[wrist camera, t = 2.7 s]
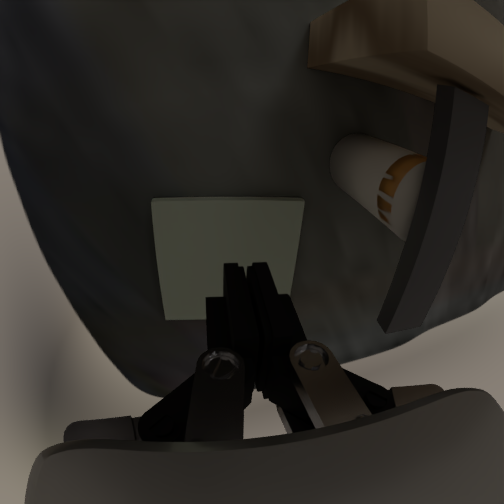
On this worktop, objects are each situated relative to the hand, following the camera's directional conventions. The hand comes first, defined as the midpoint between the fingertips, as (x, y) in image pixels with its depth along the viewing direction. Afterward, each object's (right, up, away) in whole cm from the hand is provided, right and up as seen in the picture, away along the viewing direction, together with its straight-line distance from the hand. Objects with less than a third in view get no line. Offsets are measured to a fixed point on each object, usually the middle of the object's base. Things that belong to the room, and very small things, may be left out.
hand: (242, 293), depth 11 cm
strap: (+8, +3, -1) cm, 9 cm away
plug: (+7, +7, +5) cm, 11 cm away
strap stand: (+12, +13, +3) cm, 18 cm away
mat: (-1, +1, +8) cm, 8 cm away
